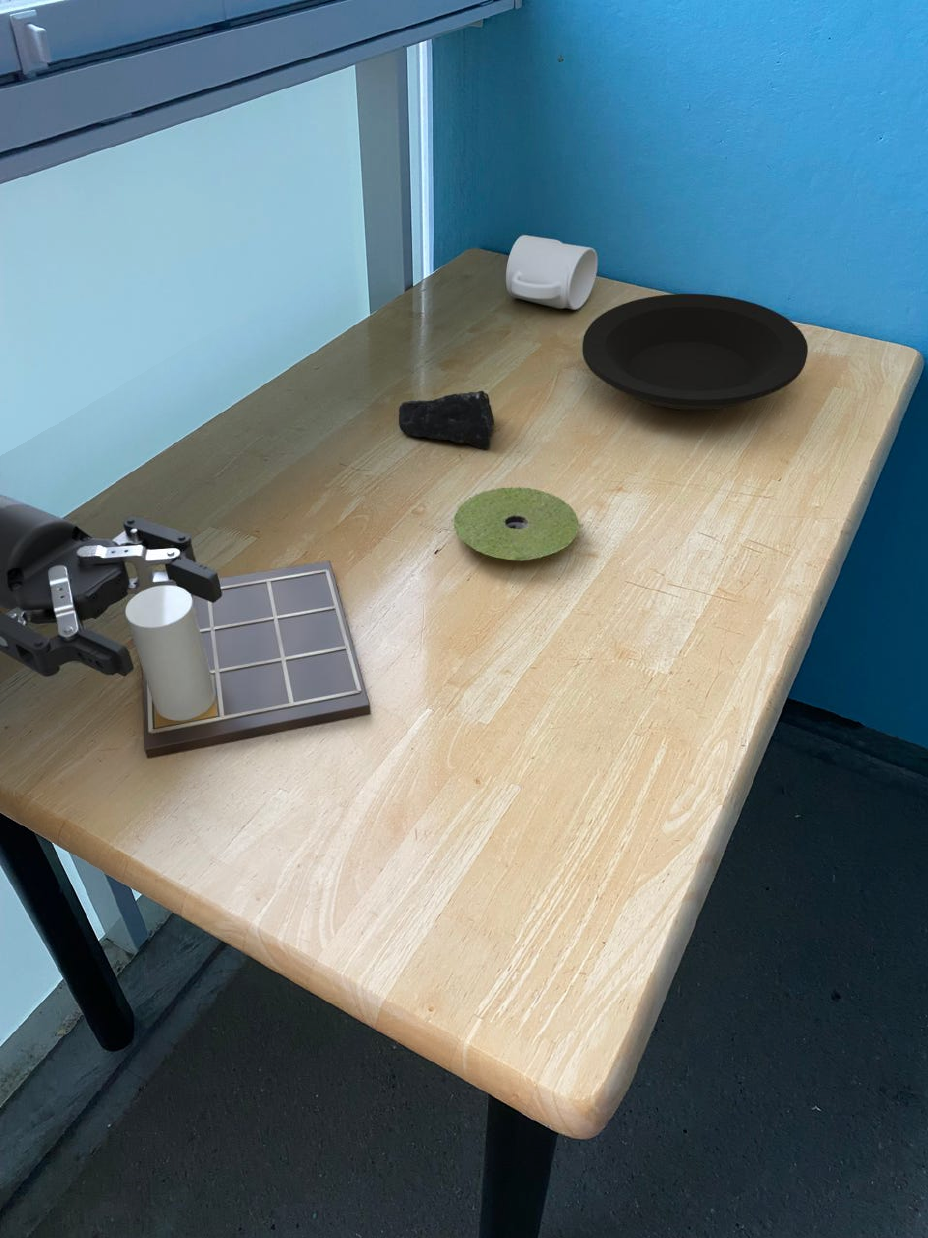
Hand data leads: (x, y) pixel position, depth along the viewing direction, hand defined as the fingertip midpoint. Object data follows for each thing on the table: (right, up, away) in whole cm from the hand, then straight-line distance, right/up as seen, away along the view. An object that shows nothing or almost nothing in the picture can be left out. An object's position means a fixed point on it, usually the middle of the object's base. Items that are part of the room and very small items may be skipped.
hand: (174, 624), depth 62 cm
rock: (+18, +20, +37) cm, 46 cm away
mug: (+30, +42, +63) cm, 81 cm away
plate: (+45, +27, +45) cm, 69 cm away
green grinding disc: (+24, +8, +23) cm, 34 cm away
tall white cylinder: (-1, -5, +6) cm, 8 cm away
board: (+2, -2, +11) cm, 12 cm away
